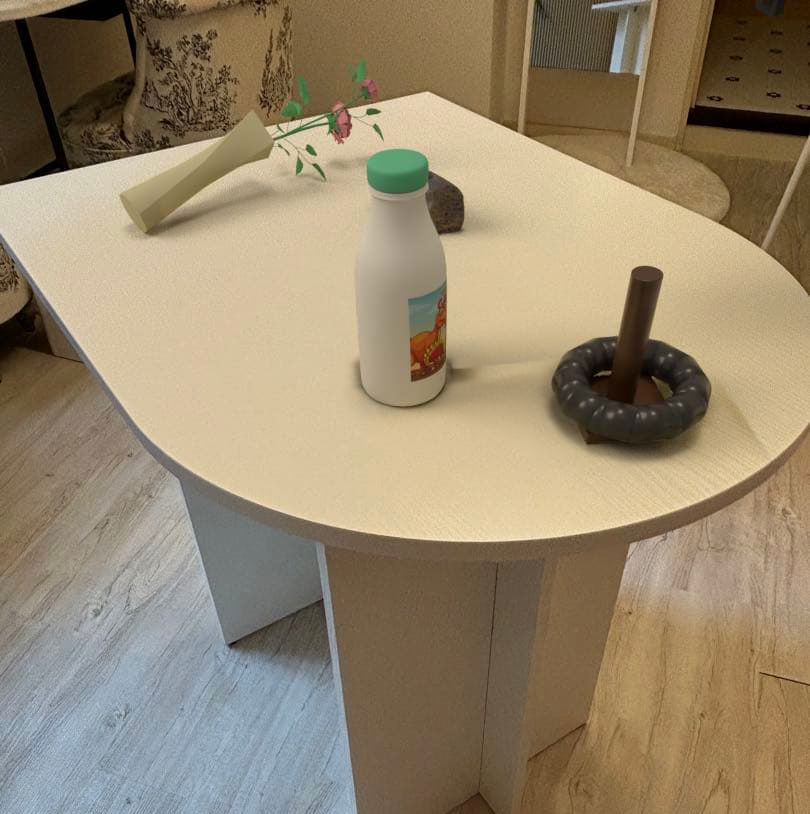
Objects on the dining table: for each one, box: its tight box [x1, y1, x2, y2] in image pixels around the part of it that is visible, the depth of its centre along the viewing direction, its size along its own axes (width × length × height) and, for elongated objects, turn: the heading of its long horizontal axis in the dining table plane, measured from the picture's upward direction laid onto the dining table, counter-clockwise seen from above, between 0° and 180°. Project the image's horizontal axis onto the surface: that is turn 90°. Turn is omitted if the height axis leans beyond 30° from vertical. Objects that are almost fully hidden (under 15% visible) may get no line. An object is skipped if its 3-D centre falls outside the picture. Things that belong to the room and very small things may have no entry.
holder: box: [576, 265, 666, 445], centre depth 65 cm, size 8×8×13 cm
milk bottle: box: [353, 148, 448, 407], centre depth 66 cm, size 8×8×20 cm
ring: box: [550, 335, 712, 444], centre depth 68 cm, size 13×13×3 cm
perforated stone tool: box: [425, 170, 465, 235], centre depth 92 cm, size 15×5×7 cm, turn 36°
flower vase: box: [118, 58, 385, 234], centre depth 99 cm, size 12×12×35 cm
